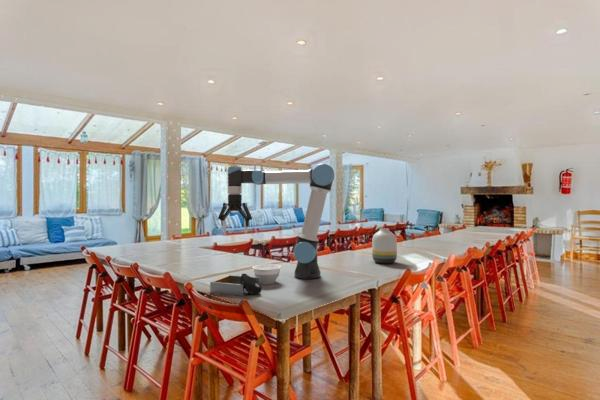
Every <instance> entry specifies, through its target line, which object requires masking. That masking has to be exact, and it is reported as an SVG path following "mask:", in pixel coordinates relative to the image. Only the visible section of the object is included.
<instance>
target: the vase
mask: <svg viewBox="0 0 600 400" xmlns="http://www.w3.org/2000/svg"><path fill="white" fill-rule="evenodd" d="M397 239H398V238H397V237H396V235H395V234H394V233H393V232H391V231H390V228H388V227H387V228H385V227H384V228H383V227H382V228H379V230H378V231H377V232H375V233H374V234H373V236H372V240H371V241H372V242H371V249H372V251H371V253H372V254H371V255H372V259H373V261H374V262H375V263H377V264H386V265H387V264H393V263H395V262H396V261H397V256H398V255H397V254H398V240H397Z"/></svg>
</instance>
